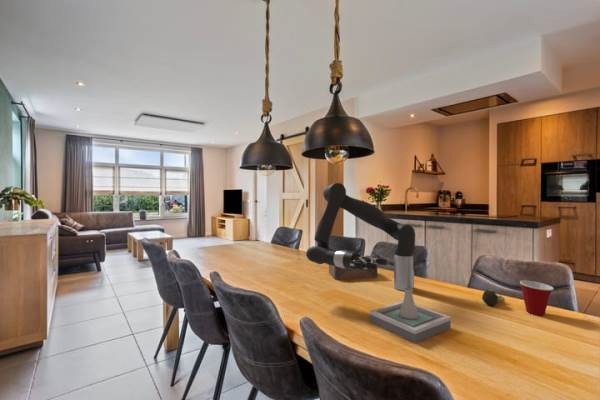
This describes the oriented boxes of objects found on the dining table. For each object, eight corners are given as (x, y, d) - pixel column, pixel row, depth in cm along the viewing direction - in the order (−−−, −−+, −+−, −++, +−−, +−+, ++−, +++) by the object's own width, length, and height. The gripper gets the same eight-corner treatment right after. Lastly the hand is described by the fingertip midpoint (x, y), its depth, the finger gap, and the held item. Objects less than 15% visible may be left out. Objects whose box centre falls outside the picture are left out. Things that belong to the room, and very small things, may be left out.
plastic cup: (556, 321, 113) (556, 289, 113) (521, 315, 118) (521, 285, 118) (550, 311, 122) (550, 282, 122) (518, 306, 128) (518, 278, 128)
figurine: (507, 291, 136) (499, 292, 126) (506, 306, 135) (498, 308, 125) (487, 287, 142) (478, 288, 131) (486, 301, 141) (477, 303, 130)
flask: (420, 320, 106) (420, 292, 106) (399, 319, 107) (399, 291, 107) (417, 313, 113) (417, 286, 113) (397, 311, 114) (397, 285, 114)
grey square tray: (404, 310, 124) (404, 300, 124) (450, 328, 107) (450, 316, 107) (369, 321, 113) (369, 310, 113) (415, 343, 96) (415, 330, 96)
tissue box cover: (368, 271, 189) (368, 256, 189) (377, 278, 175) (377, 261, 175) (328, 273, 186) (328, 257, 186) (334, 279, 172) (334, 262, 172)
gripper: (336, 253, 123) (372, 258, 112) (355, 248, 133) (389, 252, 122) (337, 271, 123) (373, 278, 112) (355, 265, 134) (390, 270, 123)
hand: (381, 264), depth 117 cm, fingers open, 8 cm apart
